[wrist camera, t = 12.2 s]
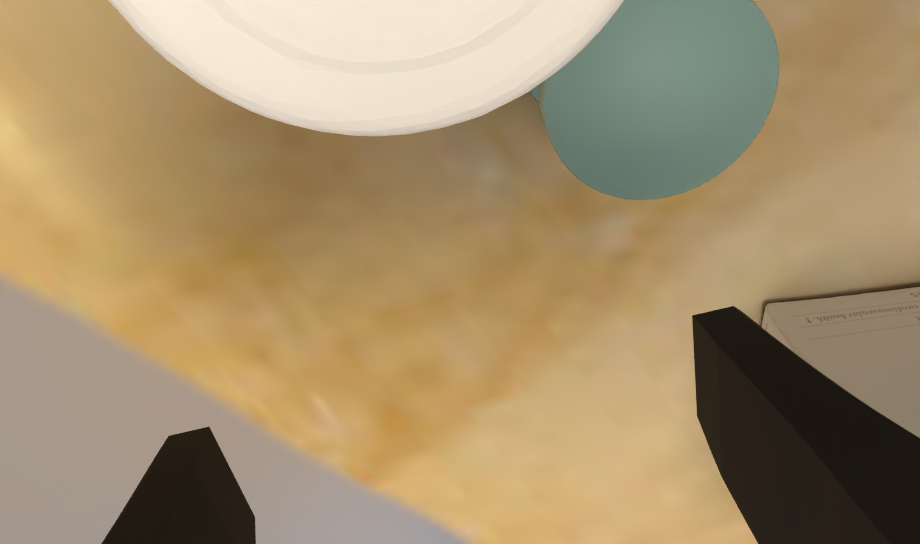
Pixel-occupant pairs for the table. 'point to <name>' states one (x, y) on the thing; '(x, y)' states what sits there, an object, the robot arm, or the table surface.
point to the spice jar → (368, 55)
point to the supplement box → (860, 346)
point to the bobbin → (662, 96)
